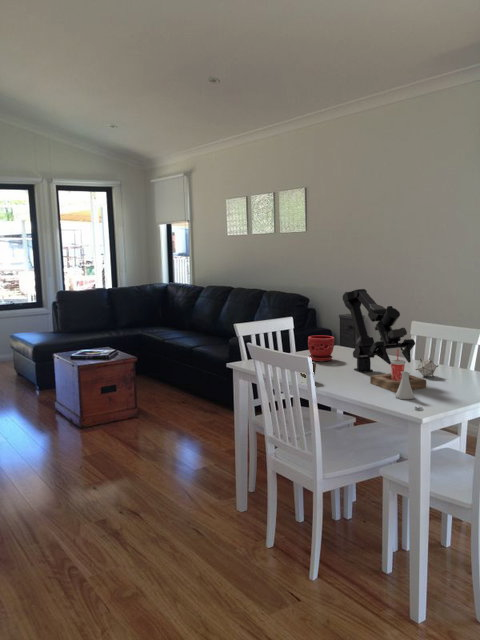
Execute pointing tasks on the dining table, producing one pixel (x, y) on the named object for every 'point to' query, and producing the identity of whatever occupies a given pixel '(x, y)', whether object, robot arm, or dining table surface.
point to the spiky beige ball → (426, 367)
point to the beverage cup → (397, 369)
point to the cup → (313, 370)
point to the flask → (405, 387)
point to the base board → (393, 386)
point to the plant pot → (321, 347)
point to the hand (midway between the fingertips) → (400, 363)
